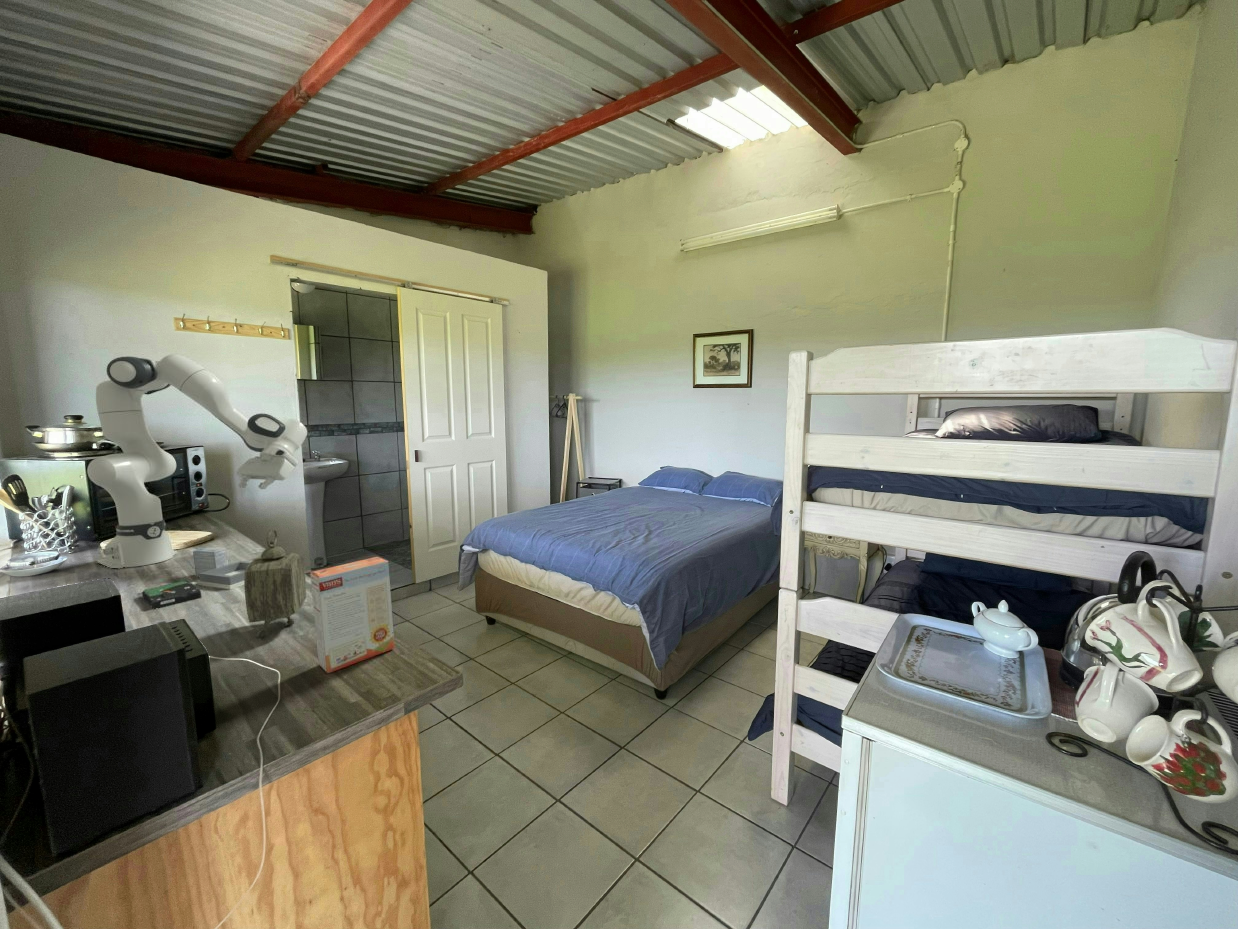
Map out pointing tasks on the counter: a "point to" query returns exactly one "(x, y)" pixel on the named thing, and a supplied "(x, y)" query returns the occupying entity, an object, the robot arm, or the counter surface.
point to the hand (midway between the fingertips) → (251, 487)
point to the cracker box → (352, 612)
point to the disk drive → (171, 594)
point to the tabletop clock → (274, 585)
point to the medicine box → (209, 559)
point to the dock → (224, 576)
